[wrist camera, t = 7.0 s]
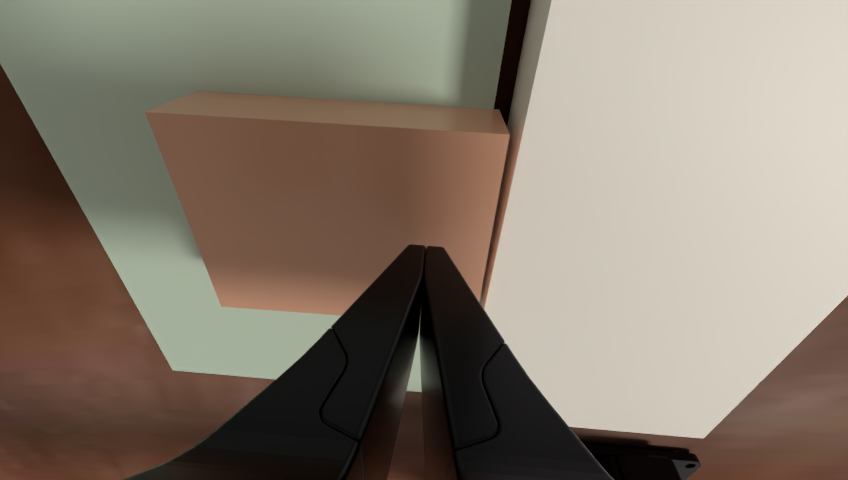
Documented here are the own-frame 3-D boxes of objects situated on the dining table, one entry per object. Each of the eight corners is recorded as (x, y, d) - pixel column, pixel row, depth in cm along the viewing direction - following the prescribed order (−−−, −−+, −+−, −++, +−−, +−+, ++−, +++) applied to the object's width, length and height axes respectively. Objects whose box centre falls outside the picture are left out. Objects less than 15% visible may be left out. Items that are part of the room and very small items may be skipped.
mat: (446, 386, 17) (446, 394, 17) (178, 363, 17) (172, 370, 17) (566, -355, 6) (574, -376, 5) (-232, -401, 6) (-275, -425, 5)
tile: (471, 282, 13) (474, 325, 11) (250, 266, 13) (221, 306, 11) (499, 109, 9) (510, 134, 8) (197, 90, 9) (144, 112, 8)
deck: (677, 393, 16) (703, 438, 15) (459, 374, 16) (460, 417, 15) (1170, -215, 6) (1440, -293, 4) (579, -252, 6) (625, -339, 5)
